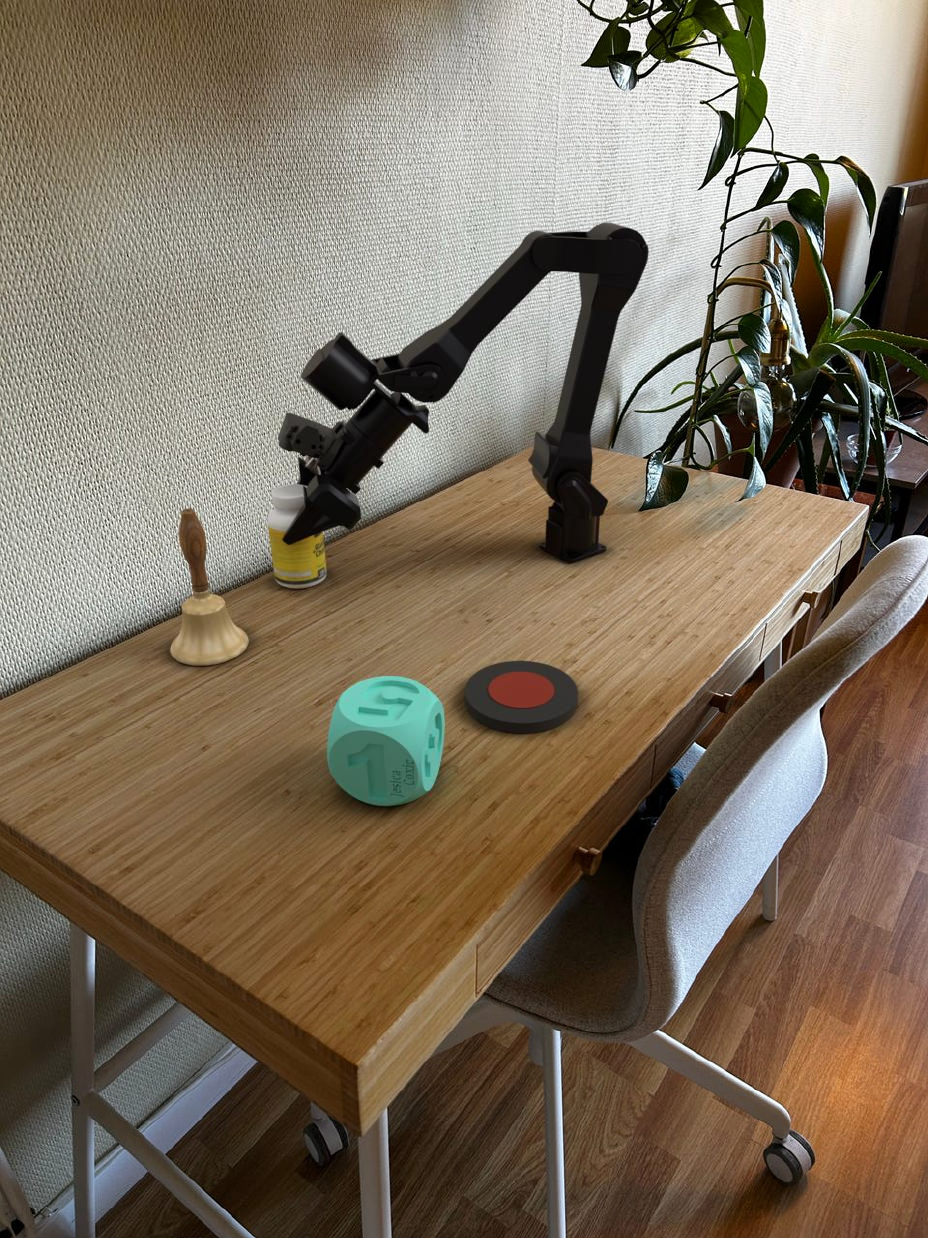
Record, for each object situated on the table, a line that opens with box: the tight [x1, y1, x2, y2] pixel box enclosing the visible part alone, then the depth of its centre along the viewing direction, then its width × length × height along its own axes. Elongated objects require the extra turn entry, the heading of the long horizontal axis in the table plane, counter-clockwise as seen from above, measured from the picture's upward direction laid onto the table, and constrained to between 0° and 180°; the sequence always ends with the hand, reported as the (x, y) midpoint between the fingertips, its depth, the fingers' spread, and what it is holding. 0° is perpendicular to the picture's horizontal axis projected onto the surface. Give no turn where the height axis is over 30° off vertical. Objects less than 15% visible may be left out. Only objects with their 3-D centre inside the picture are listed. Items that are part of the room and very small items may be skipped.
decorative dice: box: [326, 675, 446, 807], centre depth 77 cm, size 8×8×8 cm
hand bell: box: [169, 507, 250, 667], centre depth 96 cm, size 8×8×16 cm
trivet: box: [464, 660, 579, 734], centre depth 89 cm, size 11×11×1 cm
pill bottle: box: [266, 483, 328, 589], centre depth 111 cm, size 6×6×12 cm
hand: (284, 531), depth 110 cm, fingers closed on pill bottle, 6 cm apart
